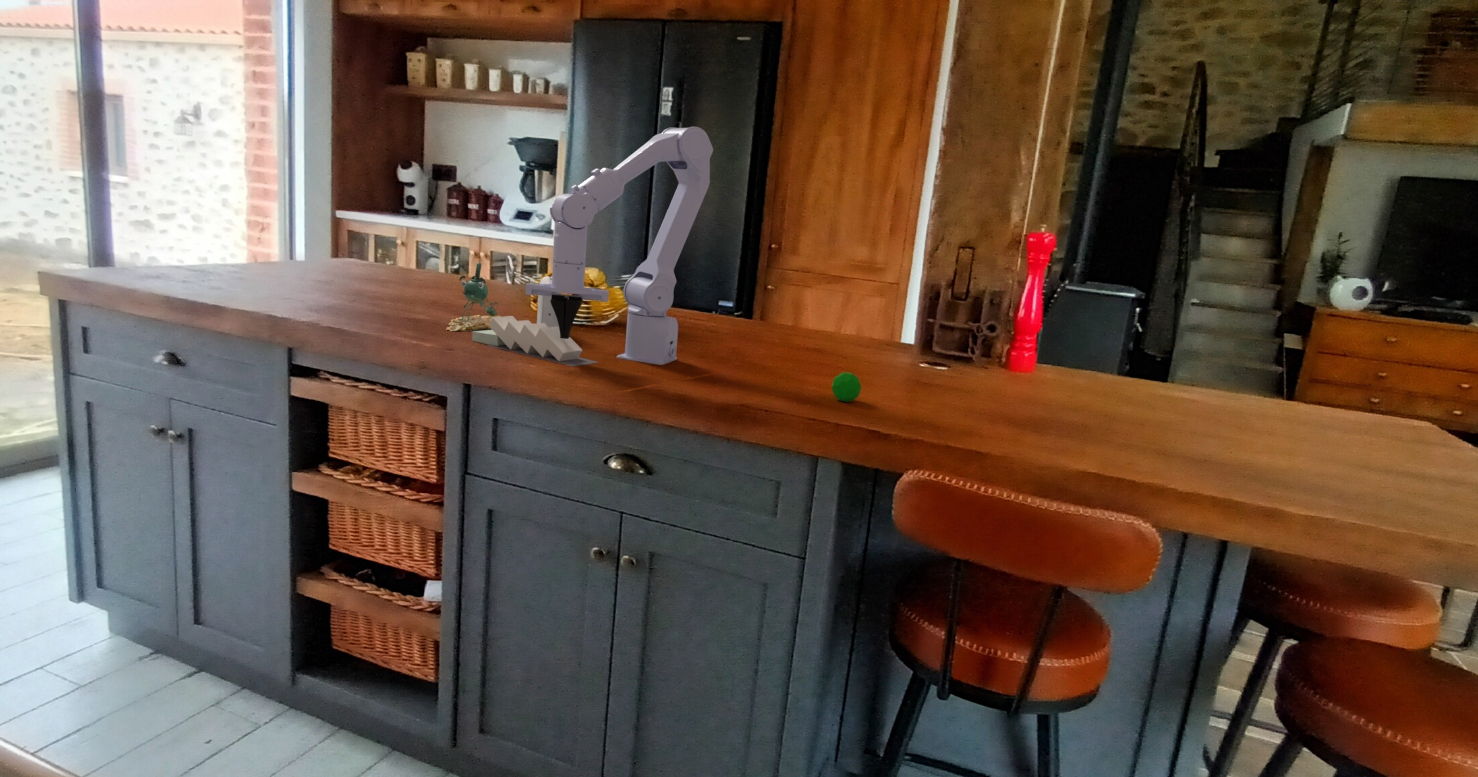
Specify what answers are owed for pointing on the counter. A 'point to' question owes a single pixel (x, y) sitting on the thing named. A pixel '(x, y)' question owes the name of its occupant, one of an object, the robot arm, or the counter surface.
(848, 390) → the polyhedron
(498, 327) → the domino
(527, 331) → the domino
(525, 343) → the domino
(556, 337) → the domino
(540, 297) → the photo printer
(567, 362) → the domino mat
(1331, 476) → the counter surface
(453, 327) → the teal and tan figure
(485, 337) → the pale green rectangular block
